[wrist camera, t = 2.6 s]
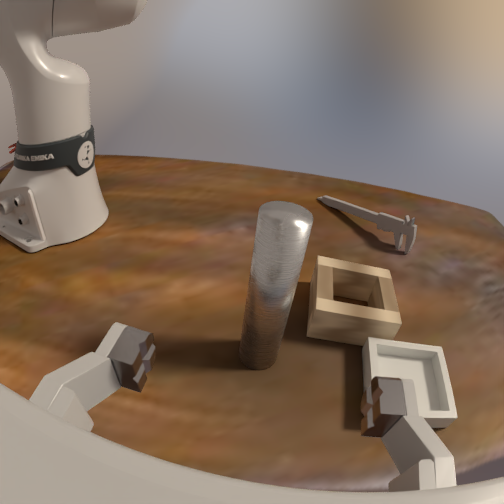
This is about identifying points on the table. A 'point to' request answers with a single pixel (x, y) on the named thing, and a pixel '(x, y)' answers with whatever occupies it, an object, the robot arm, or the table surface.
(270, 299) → the grey rounded cylinder
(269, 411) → the table surface
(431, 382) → the tray
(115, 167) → the table surface
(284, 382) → the table surface
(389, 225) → the caliper
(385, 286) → the bore block
